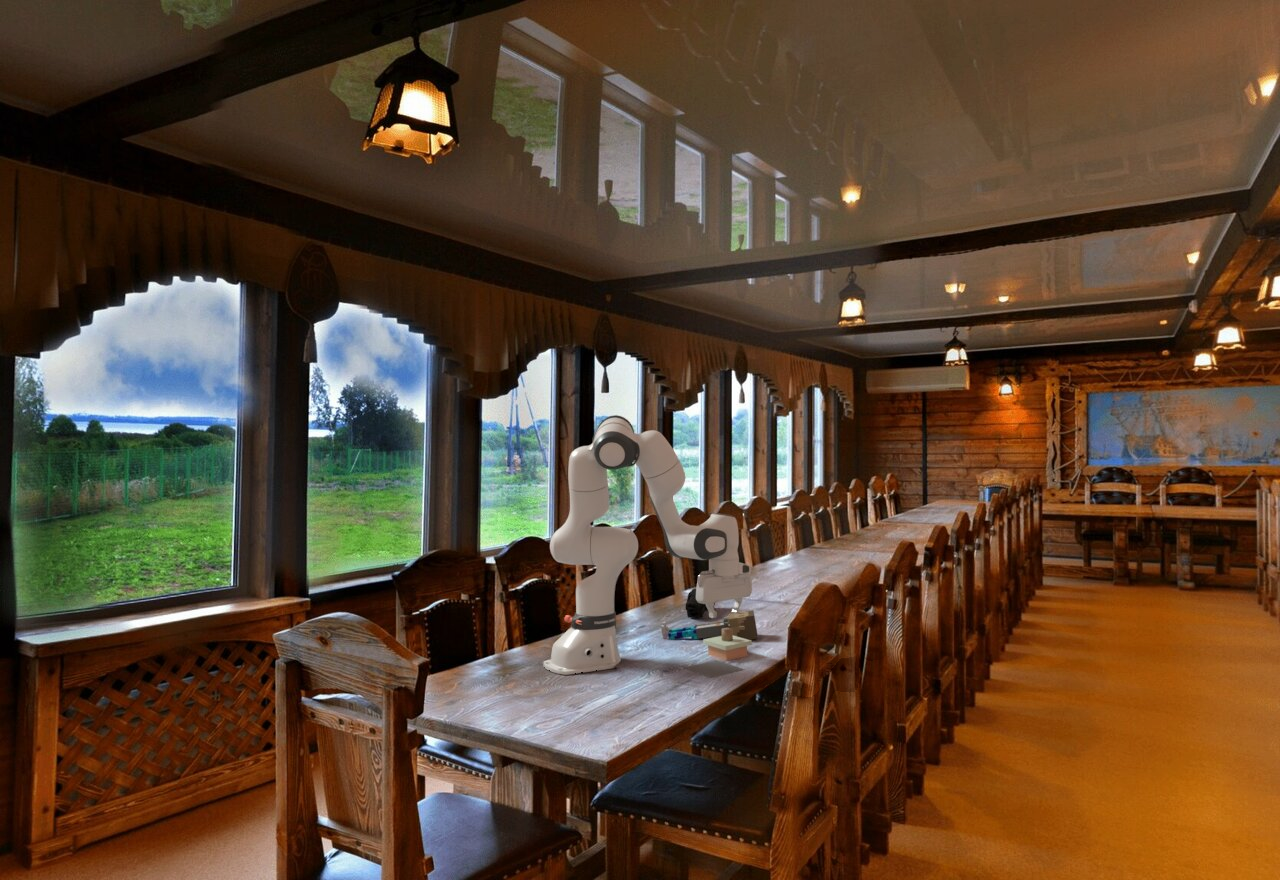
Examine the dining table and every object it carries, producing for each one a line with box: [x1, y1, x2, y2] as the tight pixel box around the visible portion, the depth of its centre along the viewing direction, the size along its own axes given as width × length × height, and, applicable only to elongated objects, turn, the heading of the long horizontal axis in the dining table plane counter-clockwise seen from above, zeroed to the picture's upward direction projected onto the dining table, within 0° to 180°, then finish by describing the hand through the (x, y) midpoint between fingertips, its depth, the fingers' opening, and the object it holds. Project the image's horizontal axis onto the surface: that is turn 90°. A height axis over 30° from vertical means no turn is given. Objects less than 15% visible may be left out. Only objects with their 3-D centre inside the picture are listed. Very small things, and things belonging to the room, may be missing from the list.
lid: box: [702, 628, 753, 650], centre depth 223 cm, size 10×10×4 cm
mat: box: [683, 659, 746, 679], centre depth 210 cm, size 12×12×1 cm
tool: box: [685, 588, 716, 619], centre depth 283 cm, size 8×23×15 cm, turn 160°
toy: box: [660, 609, 759, 640], centre depth 248 cm, size 26×8×30 cm
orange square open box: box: [707, 645, 748, 661], centre depth 223 cm, size 8×8×4 cm
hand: (724, 615), depth 226 cm, fingers open, 8 cm apart
